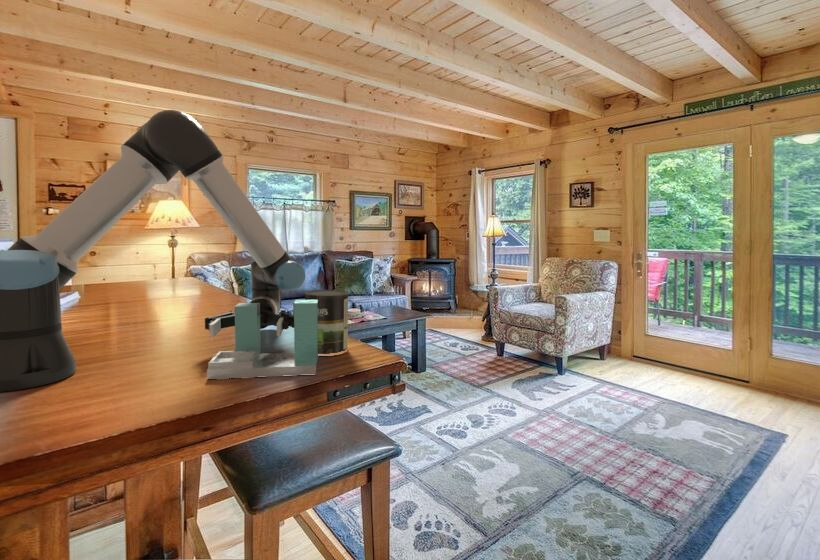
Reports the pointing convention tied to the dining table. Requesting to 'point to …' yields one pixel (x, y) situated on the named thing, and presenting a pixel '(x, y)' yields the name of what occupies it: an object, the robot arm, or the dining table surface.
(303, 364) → the grey base with post
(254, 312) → the mint green block
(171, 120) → the robot arm
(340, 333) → the coffee can
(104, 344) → the dining table surface
